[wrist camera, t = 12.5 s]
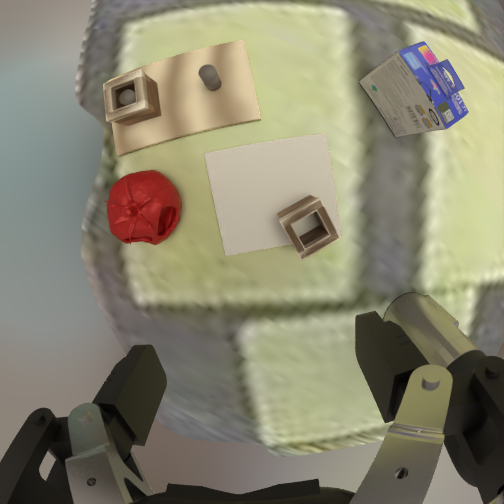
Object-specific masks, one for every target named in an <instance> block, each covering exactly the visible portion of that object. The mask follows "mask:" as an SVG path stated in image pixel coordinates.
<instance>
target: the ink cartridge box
mask: <svg viewBox="0 0 504 504" xmlns="http://www.w3.org/2000/svg"><path fill="white" fill-rule="evenodd" d="M443 67H444V68H445V69H446V70H447V71H448V72H449V73H450V74H451V76H452V78H453V81H454V84H455V87H454V85H453V83H452V81H451V80H450V78H449V77H448V75H447V73H446V72H445V70H444V69H443ZM359 83H360V84H361V85H362V87H363V88H364V90H365V91H366V92H367V94H368V95H369V97H370V98H371V99H372V101H373V102H374V104H375V105H376V107H377V108H378V110H379V111H380V113H381V114H382V116H383V117H384V119H385V121H386V122H387V124H388V125H389V127H390V129H391V130H392V132H393V134H394V135H395V137H402V136H406V135H412V134H417V133H423V132H429V131H436V130H443V129H448V128H449V127H450V126H452V125H453V124H455V123H456V122H457V121H459V120H460V119H462V118H463V117H464V116H465V115H467V114H468V113H469V112H468V110H467V108H466V106H465V104H464V102H463V100H462V99H461V97H460V95H459V93H458V91H460V90H462V89H465V88H464V86H463V84H462V82H461V81H460V79H459V77H458V75H457V74H456V72H455V70H454V69H453V67H452V65H451V64H450V62H449V61H448V59H446V60H444V61H442V62H439V61H438V60H437V58H436V57H435V55H434V54H433V53H432V51H431V50H430V48H429V47H428V46H427V44H426V43H425V42H424V41H423V42H420V43H417V44H414V45H412V46H409V47H407V48H404V49H402V50H400V51H397V52H396V53H395V54H393V55H392V56H391V57H389V58H388V59H387V60H385V61H384V62H383V63H382V64H380V65H379V66H378V67H376V68H375V69H374V70H373V71H371V72H370V73H369V74H368V75H366V76H365V77H364V78H362V79H361V80H359Z"/></svg>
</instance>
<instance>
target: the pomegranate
mask: <svg viewBox="0 0 504 504" xmlns="http://www.w3.org/2000/svg"><path fill="white" fill-rule="evenodd" d="M106 202H107V201H106ZM180 211H181V198H180V195H179V193H178V191H177V189H176V187H175V186H174V185H173V184H172V183H171V182H170V181H169V179H168V178H166V177H165V176H164V175H162V174H161V173H160V172H158V171H156V170H150V171H141V172H136V173H131V174H128V175H126V176H124V177H122V178H121V179H120V180H118V181H117V182H116V183H115V184H114V185H113V186H112V188H111V190H110V193H109V200H108V202H107V215H108V221H109V227H110V230H111V232H112V234H113V235H114V236H116V237H117V238H118V239H119V240H121V241H122V242H124V243H130V244H131V242H140V241H143V242H146V243H151V244H153V245H157V244H159V243H161V242H162V241H164V240H165V239H167V238H168V237H169V236H170V235H171V233H172V232H173V230H174V229H175V227H176V225H177V223H178V221H179V218H180Z"/></svg>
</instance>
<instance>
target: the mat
mask: <svg viewBox="0 0 504 504" xmlns="http://www.w3.org/2000/svg"><path fill="white" fill-rule="evenodd" d="M204 155H205V160H206V165H207V170H208V175H209V180H210V185H211V190H212V195H213V200H214V204H215V209H216V214H217V219H218V223H219V228H220V233H221V237H222V242H223V246H224V251H225V255H226V256H229V255H234V254H240V253H246V252H252V251H257V250H263V249H269V248H275V247H280V246H286V245H292V242H291V241H290V239H289V237H288V235H287V234H286V232H285V230H284V228H283V227H282V225H281V223H280V221H279V217H278V214H277V213H279V212H280V211H282V210H284V209H286V208H287V207H289V206H291V205H293V204H295V203H296V202H298V201H300V200H302V199H303V198H305V197H307V196H309V195H312V196H314V197H316V198H318V197H319V198H320V199H321V200H322V202H323V204H324V206H325V208H326V210H327V212H328V214H329V216H330V218H331V220H332V222H333V224H334V226H335V228H336V230H337V232H338V234H339V236H341V231H340V222H339V213H338V205H337V198H336V191H335V184H334V177H333V171H332V165H331V159H330V153H329V148H328V142H327V137H326V133H323V134H314V135H306V136H299V137H291V138H284V139H278V140H272V141H265V142H260V143H254V144H248V145H243V146H238V147H233V148H228V149H223V150H219V151H214V152H210V153H205V154H204ZM292 226H293V228H294V229H295V231H296V233H297V235H298V237H299V236H301V235H303V234H305V233H307V232H308V231H310V230H312V229H314V228H315V227H317V226H319V223H318V221H317V219H316V217H315V215H314V214H313V213H312V214H310V215H308V216H306V217H305V218H303V219H301V220H299V221H297V222H296V223H294V224H292Z"/></svg>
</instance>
